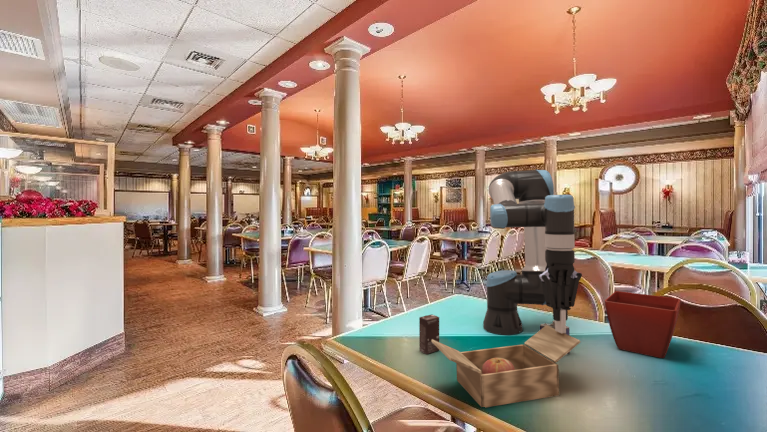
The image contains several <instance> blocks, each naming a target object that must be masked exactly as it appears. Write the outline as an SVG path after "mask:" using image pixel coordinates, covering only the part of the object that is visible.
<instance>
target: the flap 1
mask: <svg viewBox="0 0 767 432" xmlns="http://www.w3.org/2000/svg"><path fill="white" fill-rule="evenodd" d="M431 342H432V343H433V344H434V345H435V346H436V347H437V348H438V349H439V351H440V352H441V353H442V354H443V356H445V358H446V359H448V360H449V361H450V362H454V363H455V364H456V363H458V364H460V365H462V366H464V367H467V368H469V369H471V370H474V371H476V372H478V373H481V370H480V369H478V368H477V367H476V366H475V365H474V364H473V363H472V362H471V361H469V360H468V359H467V358H466V357H465V356H464V355H463V354H462V353H460V352H461V351H459V350H457V349H455V348H453V347H450V346H448V345H446V344H444V343H442V342H440V341H439V342H437V341H435V340H433V339H432V341H431Z"/></svg>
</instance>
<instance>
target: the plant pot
mask: <svg viewBox="0 0 767 432" xmlns="http://www.w3.org/2000/svg"><path fill="white" fill-rule="evenodd" d="M681 301H682V300H681V298H678V297H670V296H660V295H652V294H643V293H637V292H628V291H627V292H626V291H621V290H620V291H619V290H617V291H614V292H613V293H611V295H609V296H608V297H607V298H606V299H604V306H605V312H606V316H607V321H608V324H609V329H610V332H611V334H612V336H613V340H614V343H615V345H616V348H617V349H619V350H623V351H628V352H632V353H635V354H642V355H646V356H651V357H655V358H659V359H664V358H665V357H666V355H667V353H668V350H669V347H670V344H671V342H672V339H673V335H674V332H675V329H676V326H677V322H678V317H679V312H680V307H681Z"/></svg>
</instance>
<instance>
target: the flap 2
mask: <svg viewBox="0 0 767 432" xmlns="http://www.w3.org/2000/svg"><path fill="white" fill-rule="evenodd" d="M569 335H570V334H569ZM569 335H567V334H565V333H559V332H557V331H555V329H554V328H552V327H550V326H547V325H546V326H545V327H543V328H542V329H541V330H540V329H539V330H538V331H537V332H536V333H534V334H533V335H532V336H531V337H529V338H528V339H527V340H526V341H524V345H526V346H528V347H529V348H531V349H533V350H534V351H536V352H538V353H539V354H541V355H543V356H544V357H546V358H548V359H549V360H551V361H553V362H555V363H556V364H557V363H558V362H559V361H560V360H561V359H562V358H564V357H565V356H566V355H568V354H567V353H568V352H570V353H571V351H572V350H573V349H575V348H576V347H577V346H578V345H579V344H581V340H580V339H578V338H576V337H574V336H571V335H570V336H569Z"/></svg>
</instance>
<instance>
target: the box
mask: <svg viewBox="0 0 767 432" xmlns="http://www.w3.org/2000/svg"><path fill="white" fill-rule="evenodd" d="M418 324H419V325H418V327H419V334H418V336H419V341H418V342H419V343H418V344H419V351H420V352H421V353H422V354H425V355H429V354H432V353H435V352H438V351H440V350H439V349H438V348H437V347H436V346H435V345H434V344H433V343H432V342H431V341H432V339H433V340H435V341H437V342H439V343H440V316H437V315H435V314H428V315H423V316H419V323H418Z"/></svg>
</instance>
